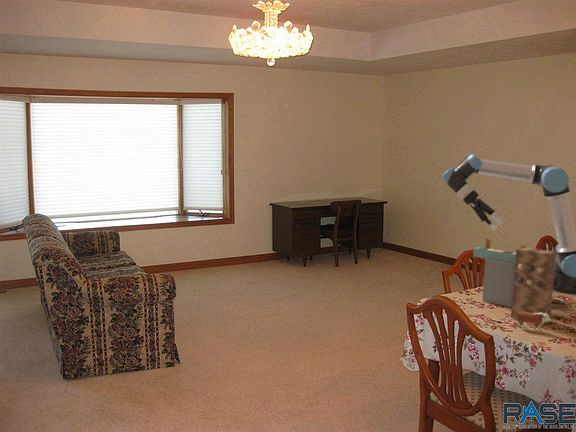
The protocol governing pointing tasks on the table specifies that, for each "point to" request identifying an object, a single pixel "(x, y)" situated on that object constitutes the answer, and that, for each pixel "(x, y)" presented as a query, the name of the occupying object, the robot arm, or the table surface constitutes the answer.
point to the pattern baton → (494, 254)
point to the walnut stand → (533, 281)
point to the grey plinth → (498, 282)
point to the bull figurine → (531, 319)
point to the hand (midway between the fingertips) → (498, 226)
